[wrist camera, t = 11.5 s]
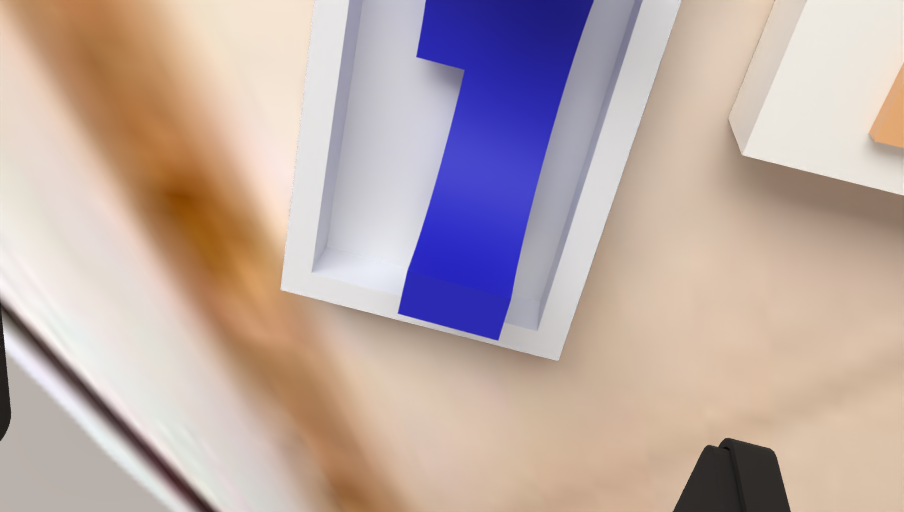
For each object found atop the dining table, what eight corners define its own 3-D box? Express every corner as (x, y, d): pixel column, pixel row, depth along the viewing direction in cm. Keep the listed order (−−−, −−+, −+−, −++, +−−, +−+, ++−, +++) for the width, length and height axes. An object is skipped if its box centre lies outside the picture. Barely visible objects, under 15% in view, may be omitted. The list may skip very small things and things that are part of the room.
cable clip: (467, -166, 23) (430, -149, 18) (624, -125, 23) (633, -97, 18) (391, 208, 29) (347, 300, 24) (515, 241, 29) (498, 340, 24)
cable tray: (742, -223, 22) (757, -223, 20) (560, 321, 31) (558, 361, 29) (375, -311, 22) (352, -320, 20) (301, 254, 32) (280, 289, 30)
